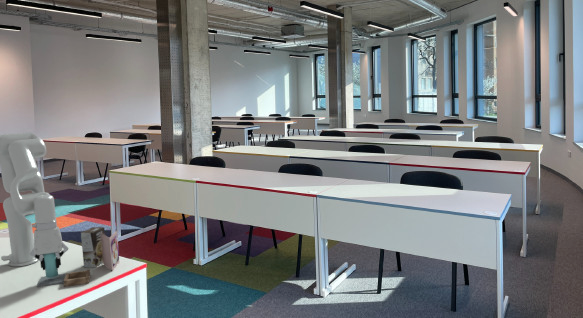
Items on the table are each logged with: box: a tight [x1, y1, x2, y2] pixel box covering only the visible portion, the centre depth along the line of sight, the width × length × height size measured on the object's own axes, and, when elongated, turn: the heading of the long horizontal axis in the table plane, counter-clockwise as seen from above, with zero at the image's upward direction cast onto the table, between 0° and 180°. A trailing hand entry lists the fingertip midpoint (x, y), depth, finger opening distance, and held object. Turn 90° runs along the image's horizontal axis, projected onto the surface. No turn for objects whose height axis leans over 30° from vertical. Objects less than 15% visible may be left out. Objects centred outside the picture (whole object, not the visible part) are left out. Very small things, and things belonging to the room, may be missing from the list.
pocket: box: [63, 269, 91, 288], centre depth 197 cm, size 9×9×2 cm
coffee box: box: [80, 226, 106, 268], centre depth 216 cm, size 9×6×16 cm
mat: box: [36, 272, 67, 288], centre depth 198 cm, size 10×10×1 cm
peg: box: [43, 253, 59, 278], centre depth 197 cm, size 5×5×10 cm
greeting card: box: [100, 230, 120, 272], centre depth 211 cm, size 11×7×15 cm, turn 5°
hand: (51, 267), depth 198 cm, fingers closed on peg, 4 cm apart
